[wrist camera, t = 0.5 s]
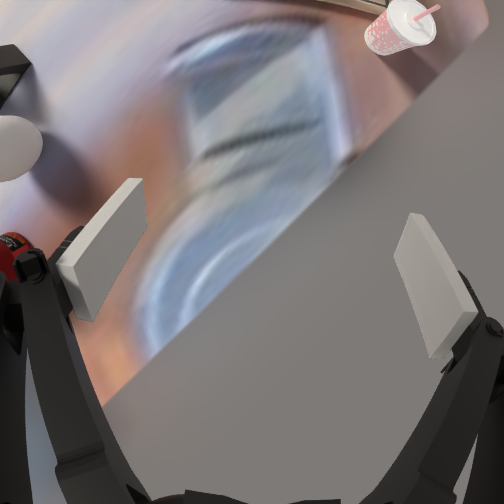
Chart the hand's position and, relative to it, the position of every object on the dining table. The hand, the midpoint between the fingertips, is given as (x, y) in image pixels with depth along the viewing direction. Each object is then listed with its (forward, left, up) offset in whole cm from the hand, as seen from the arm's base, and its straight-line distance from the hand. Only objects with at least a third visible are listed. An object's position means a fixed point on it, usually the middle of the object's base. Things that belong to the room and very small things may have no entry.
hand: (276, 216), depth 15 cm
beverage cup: (-20, +15, -23) cm, 34 cm away
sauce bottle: (-4, -30, -23) cm, 38 cm away
